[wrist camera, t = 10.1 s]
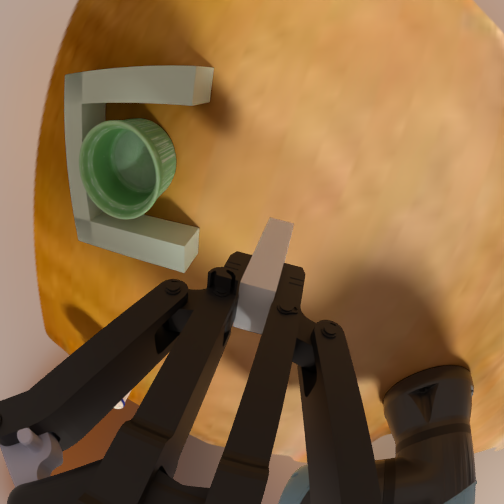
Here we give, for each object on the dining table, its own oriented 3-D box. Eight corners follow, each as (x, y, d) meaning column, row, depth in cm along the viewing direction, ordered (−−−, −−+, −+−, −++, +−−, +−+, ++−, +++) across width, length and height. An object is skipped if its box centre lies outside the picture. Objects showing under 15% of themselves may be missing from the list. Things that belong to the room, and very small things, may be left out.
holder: (214, 67, 19) (196, 65, 16) (198, 252, 29) (184, 273, 27) (89, 71, 21) (65, 74, 18) (96, 225, 31) (78, 240, 28)
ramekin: (115, 102, 22) (84, 109, 19) (195, 130, 23) (171, 140, 19) (101, 181, 28) (75, 197, 24) (170, 214, 28) (148, 235, 24)
